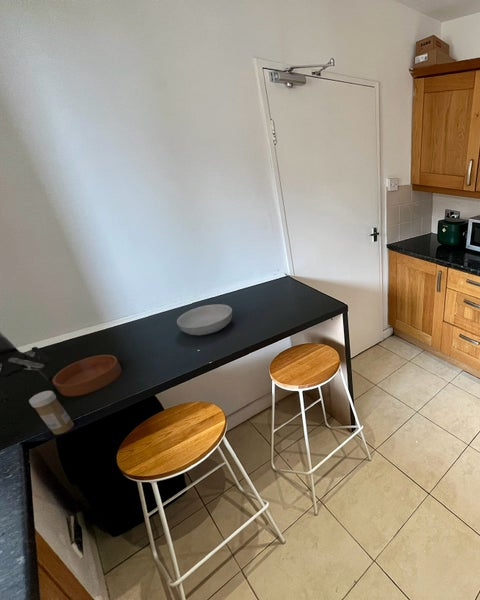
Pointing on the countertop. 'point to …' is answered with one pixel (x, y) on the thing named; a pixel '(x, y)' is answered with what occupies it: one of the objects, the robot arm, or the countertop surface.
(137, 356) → the countertop surface
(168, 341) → the countertop surface
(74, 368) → the pan
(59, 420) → the sprinkles bottle
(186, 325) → the serving bowl
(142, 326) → the countertop surface
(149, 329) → the countertop surface
